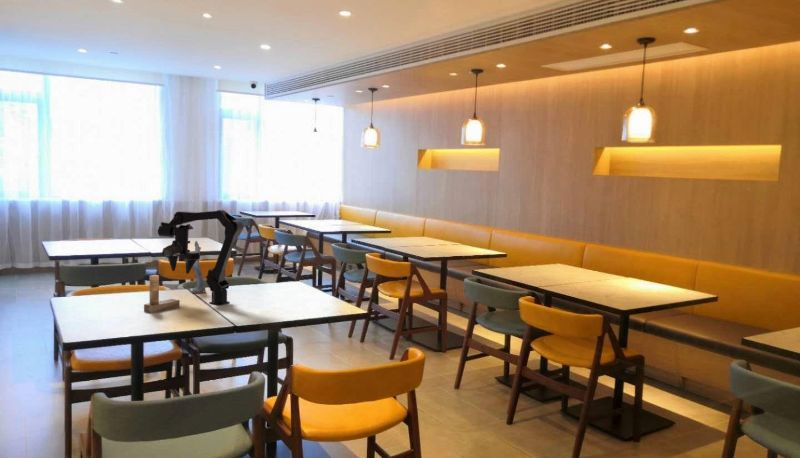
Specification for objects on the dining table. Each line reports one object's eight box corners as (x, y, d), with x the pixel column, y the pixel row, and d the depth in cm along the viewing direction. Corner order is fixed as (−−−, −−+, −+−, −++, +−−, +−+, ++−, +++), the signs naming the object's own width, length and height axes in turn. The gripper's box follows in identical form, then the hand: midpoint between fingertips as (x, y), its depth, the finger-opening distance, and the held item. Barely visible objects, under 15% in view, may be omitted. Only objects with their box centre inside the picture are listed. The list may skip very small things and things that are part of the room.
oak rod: (160, 303, 245) (160, 275, 244) (154, 305, 241) (154, 276, 240) (154, 302, 246) (154, 274, 245) (147, 304, 243) (147, 276, 242)
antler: (206, 293, 283) (206, 243, 281) (189, 294, 280) (189, 243, 278) (204, 289, 293) (205, 240, 291) (188, 289, 290) (188, 240, 288)
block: (179, 307, 252) (179, 300, 252) (151, 312, 240) (151, 305, 240) (171, 305, 255) (171, 298, 254) (144, 311, 243) (144, 304, 242)
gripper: (152, 237, 260) (151, 271, 261) (181, 242, 251) (180, 277, 253) (173, 235, 270) (171, 268, 271) (201, 240, 261) (200, 274, 263)
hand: (180, 272), depth 264 cm, fingers open, 9 cm apart
